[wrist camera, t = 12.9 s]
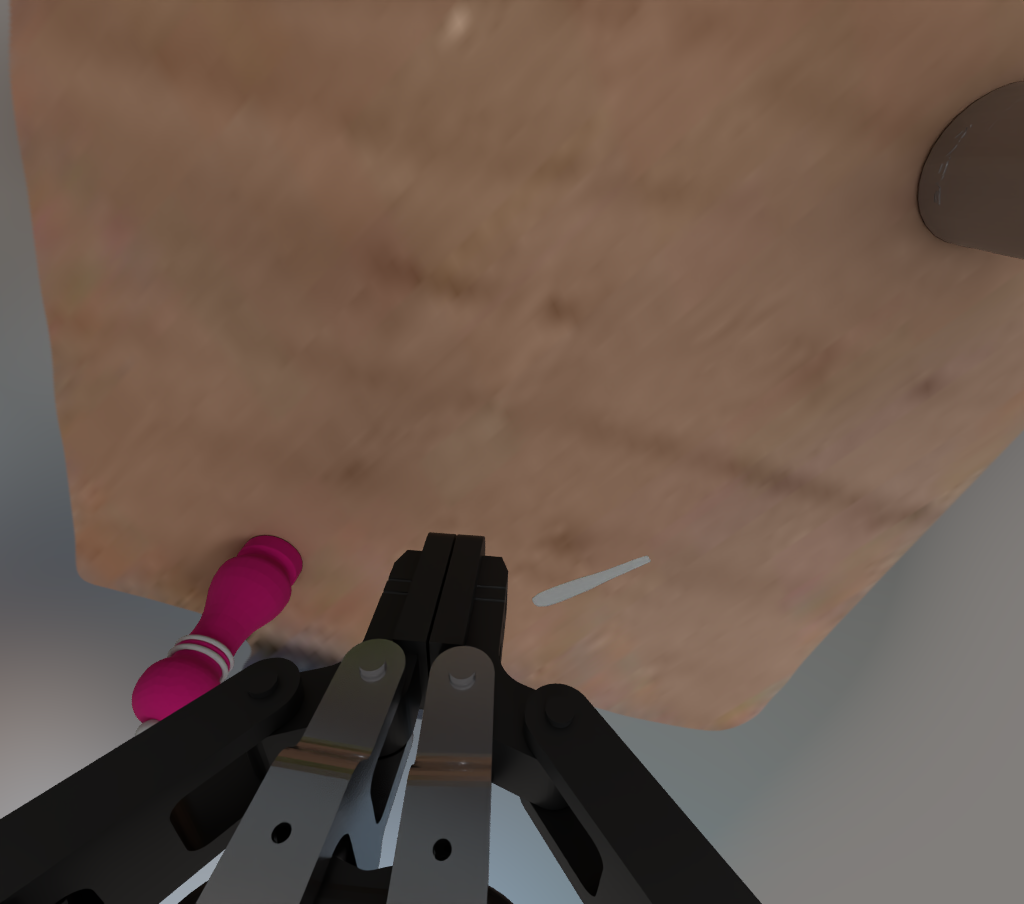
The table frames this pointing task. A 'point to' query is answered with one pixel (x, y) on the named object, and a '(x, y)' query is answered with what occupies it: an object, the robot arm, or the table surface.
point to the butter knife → (585, 583)
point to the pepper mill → (220, 628)
